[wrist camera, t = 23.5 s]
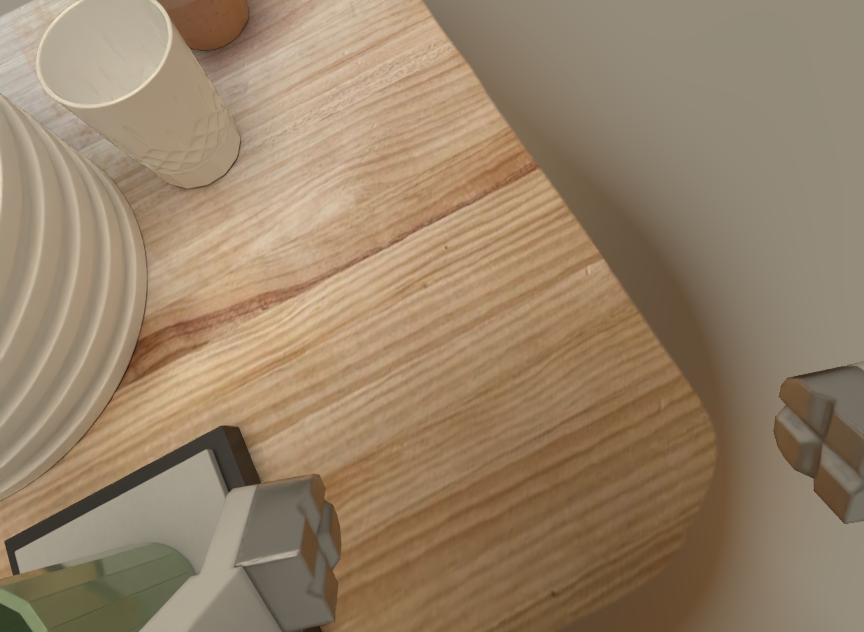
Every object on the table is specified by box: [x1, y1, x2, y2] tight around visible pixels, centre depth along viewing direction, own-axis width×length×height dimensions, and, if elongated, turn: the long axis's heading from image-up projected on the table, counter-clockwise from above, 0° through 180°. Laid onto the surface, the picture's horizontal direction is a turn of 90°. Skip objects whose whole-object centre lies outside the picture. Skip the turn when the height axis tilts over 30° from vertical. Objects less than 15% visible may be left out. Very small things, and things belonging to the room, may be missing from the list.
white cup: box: [36, 0, 241, 189], centre depth 33 cm, size 8×8×10 cm
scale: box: [5, 426, 321, 632], centre depth 29 cm, size 14×14×3 cm
